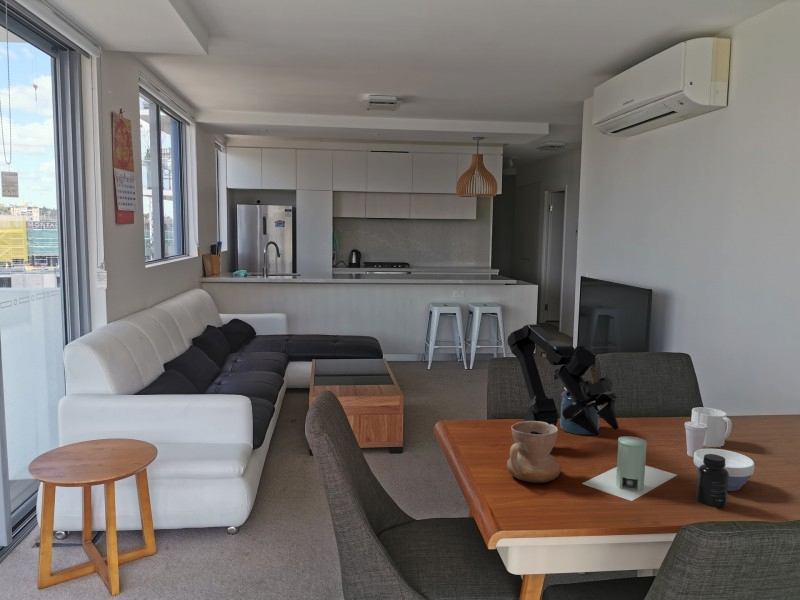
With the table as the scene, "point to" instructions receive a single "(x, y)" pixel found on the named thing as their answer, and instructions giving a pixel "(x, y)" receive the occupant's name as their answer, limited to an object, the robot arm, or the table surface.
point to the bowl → (729, 466)
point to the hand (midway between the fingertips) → (608, 432)
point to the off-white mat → (608, 485)
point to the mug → (713, 425)
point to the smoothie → (695, 436)
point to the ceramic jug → (533, 452)
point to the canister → (573, 427)
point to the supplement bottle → (712, 481)
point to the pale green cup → (631, 461)
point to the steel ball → (629, 482)
